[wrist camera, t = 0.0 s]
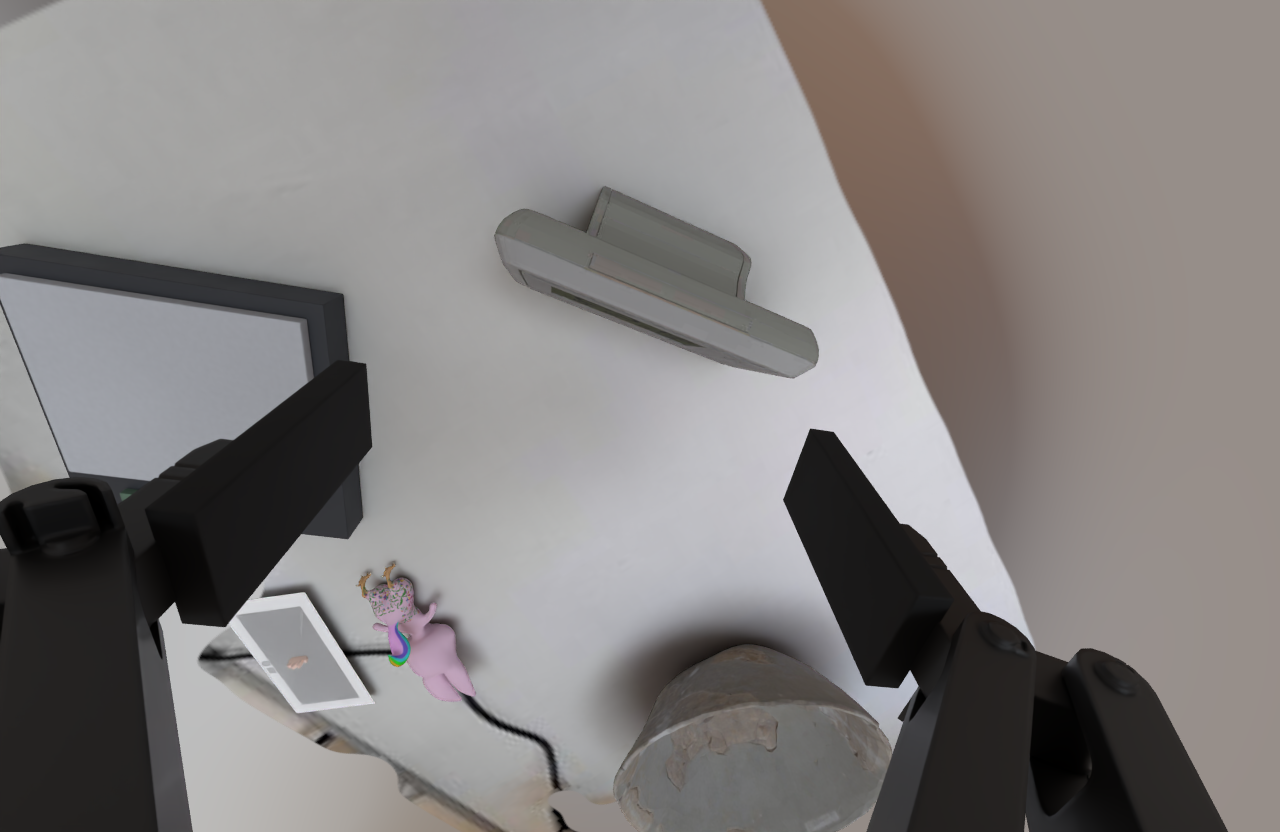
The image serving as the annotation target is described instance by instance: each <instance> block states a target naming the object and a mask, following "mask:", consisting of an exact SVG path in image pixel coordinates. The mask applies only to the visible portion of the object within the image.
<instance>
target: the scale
mask: <svg viewBox="0 0 1280 832" xmlns="http://www.w3.org/2000/svg"><path fill="white" fill-rule="evenodd" d="M0 305H1V307H2V310H3V312H4V315H5V317H6V320H7V322H8V325H9V327H10V330H11V332H12V335H13V337H14V340H15V342H16V345H17V347H18V350H19V352H20V355H21V357H22V360H23V362H24V365H25V367H26V370H27V372H28V375H29V377H30V380H31V382H32V385H33V387H34V390H35V392H36V395H37V397H38V400H39V402H40V405H41V407H42V410H43V412H44V415H45V417H46V420H47V422H48V425H49V427H50V430H51V432H52V435H53V437H54V440H55V442H56V445H57V447H58V450H59V452H60V455H61V457H62V460H63V462H64V465H65V467H66V470H67V472H68V475H69V477H70V478H72V477H86V478H96V479H99V480H102V481H105V482H107V483H108V484H109V486H110V487H111V489H112V491H113V494H114V497H115V500H116V502H117V505H118V504H119V503H121V502H122V501H123V500H125V499H126V498H127V497H129V496H130V495H132V494H133V493H134V492H136V491H137V490H139V489H140V488H141V487H143V486H144V485H145V484H147V483H148V482H150V481H151V480H152V479H154V478H158V477H159V474H161V473H162V472H163V471H165V470H166V469H168V468H169V467H170V466H175V463H176V462H177V461H179V460H180V459H181V458H183V457H184V456H185V455H187V454H188V453H190V452H191V451H192V450H194V449H196V448H198V447H201V446H203V445H206V444H208V443H211V442H213V441H216V440H218V439H228V440H234V439H236V438H237V437H238V436H239V435H241V434H242V433H243V432H245V431H246V430H247V429H248V428H250V427H251V426H252V425H254V424H255V423H256V422H258V421H259V420H260V419H261V418H263V417H264V416H265V415H267V414H268V413H269V412H270V411H272V410H273V409H274V408H276V407H277V406H278V405H280V404H281V403H282V402H283V401H285V400H286V399H287V398H289V397H290V396H291V395H292V394H294V393H295V392H296V391H298V390H299V389H300V388H301V387H303V386H304V385H305V384H307V383H308V382H309V381H311V380H312V379H313V378H314V377H316V376H317V375H318V374H320V373H321V372H322V371H323V370H325V369H326V368H327V367H329V366H330V365H331V364H333V363H334V362H335V361H336V360H344V361H349V357H348V346H347V334H346V323H345V312H344V300H343V294H339V293H332V292H326V291H320V290H313V289H307V288H301V287H295V286H288V285H282V284H276V283H269V282H263V281H257V280H251V279H244V278H238V277H232V276H226V275H219V274H213V273H207V272H200V271H194V270H188V269H182V268H175V267H169V266H163V265H156V264H150V263H144V262H138V261H131V260H125V259H119V258H112V257H106V256H100V255H94V254H87V253H81V252H75V251H68V250H62V249H56V248H50V247H43V246H37V245H31V244H19V245H13V246H7V247H1V248H0ZM362 518H363V515H362V504H361V492H360V481H359V470H358V465H357V466H356V467H355V468H354V470H353V471H352V472H351V473H350V475H349V476H348V477H347V478H346V480H345V481H344V482H343V483H342V484H341V486H340V487H339V488H338V489H337V491H336V492H335V493H334V494H333V495H332V497H331V498H330V499H329V500H328V502H327V503H326V504H325V505H324V507H323V508H322V509H321V510H320V511H319V513H318V514H317V515H316V516H315V518H314V519H313V520H312V521H311V523H310V524H309V525H308V526H307V527H306V529H305V530H304V531H303V532H302V534H306V535H315V536H324V537H333V538H342V539H349V537H350V536H351V534H352V533H353V532H354V530H355V529H356V527H357V526H358V524H359V523H360V521H361V520H362Z"/></svg>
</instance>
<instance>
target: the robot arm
mask: <svg viewBox="0 0 1280 832" xmlns="http://www.w3.org/2000/svg"><path fill="white" fill-rule="evenodd" d="M371 448H372V438H371V424H370V410H369V396H368V382H367V369H366V364H364V363H358V362H351V361H344V360H336V361H335V362H334V363H333V364H331V365H330V366H329V367H327V368H326V369H325V370H323V371H322V372H321V373H320V374H318V375H317V376H316V377H314V378H313V379H312V380H311V381H309V382H308V383H307V384H305V385H304V386H303V387H301V388H300V389H299V390H298V391H296V392H295V393H294V394H292V395H291V396H290V397H289V398H287V399H286V400H285V401H283V402H282V403H281V404H280V405H278V406H277V407H276V408H274V409H273V410H272V411H270V412H269V413H268V414H267V415H265V416H264V417H263V418H261V419H260V420H259V421H258V422H256V423H255V424H254V425H252V426H251V427H250V428H248V429H247V430H246V431H245V432H243V433H242V434H241V435H239V436H238V437H237V438H236V439H234V440H228V439H218V440H216V441H213V442H211V443H208V444H206V445H203V446H201V447H198V448H196V449H194V450H192V451H191V452H190V453H188V454H187V455H185V456H184V457H183V458H181V459H180V460H179V461H177V462H176V463H175V466H170V467H169V468H168V469H166V470H165V471H163V472H162V473H161V474H159V477H158V478H154V479H152V480H151V481H150V482H148V483H147V484H145V485H144V486H143V487H141V488H140V489H139V490H137V491H136V492H134V493H133V494H132V495H130V496H129V497H127V498H126V499H125V500H123V501H122V502H121V503H119V504H118V505H117V502H116V500H115V497H114V494H113V491H112V489H111V487H110V486H109V484H108V483H107V482H105V481H102V480H99V479H96V478H86V477H72V478H64V479H55V480H51V481H47V482H43V483H40V484H36V485H32V486H30V487H27V488H25V489H22V490H20V491H18V492H15V493H13V494H11V495H9V496H8V497H6V498H5V499H3V500H2V501H1V502H0V535H1V537H2V539H3V541H4V543H5V545H6V547H7V548H5V549H0V832H193V830H192V824H191V817H190V810H189V804H188V797H187V790H186V784H185V778H184V770H183V763H182V757H181V750H180V744H179V737H178V730H177V723H176V717H175V710H174V703H173V697H172V691H171V683H170V677H169V670H168V663H167V657H166V650H165V643H164V637H163V631H162V628H161V625H160V622H159V617H160V616H161V615H162V614H163V613H164V612H165V611H166V610H167V609H168V608H169V607H170V606H171V605H172V604H173V603H174V602H175V603H176V606H177V609H178V612H179V615H180V618H181V621H182V623H185V624H195V625H206V626H217V627H226V626H227V624H228V623H229V622H230V621H231V620H232V618H233V617H234V616H235V615H236V613H237V612H238V611H239V610H240V609H241V607H242V606H243V605H244V604H245V602H246V601H247V600H248V598H249V597H250V596H251V595H252V594H253V592H254V591H255V590H256V589H257V588H258V586H259V585H260V584H261V583H262V582H263V580H264V579H265V578H266V577H267V575H268V574H269V573H270V572H271V570H272V569H273V568H274V567H275V566H276V564H277V563H278V562H279V561H280V559H281V558H282V557H283V556H284V554H285V553H286V552H287V551H288V550H289V548H290V547H291V546H292V545H293V543H294V542H295V541H296V540H297V538H298V537H299V536H300V535H301V534H302V532H303V531H304V530H305V529H306V527H307V526H308V525H309V524H310V523H311V521H312V520H313V519H314V518H315V516H316V515H317V514H318V513H319V511H320V510H321V509H322V508H323V507H324V505H325V504H326V503H327V502H328V500H329V499H330V498H331V497H332V495H333V494H334V493H335V492H336V491H337V489H338V488H339V487H340V486H341V484H342V483H343V482H344V481H345V480H346V478H347V477H348V476H349V475H350V473H351V472H352V471H353V470H354V468H355V467H356V466H357V465H358V464H359V462H360V461H361V460H362V459H363V457H364V456H365V455H366V454H367V452H368V451H369V450H370V449H371ZM783 501H784V503H785V505H786V507H787V510H788V512H789V514H790V516H791V519H792V521H793V523H794V525H795V528H796V530H797V532H798V534H799V537H800V539H801V541H802V543H803V546H804V548H805V550H806V552H807V555H808V557H809V559H810V561H811V564H812V566H813V568H814V570H815V573H816V575H817V577H818V579H819V582H820V584H821V586H822V588H823V591H824V593H825V595H826V597H827V600H828V602H829V604H830V606H831V609H832V611H833V613H834V615H835V618H836V620H837V622H838V624H839V627H840V629H841V631H842V633H843V636H844V638H845V640H846V642H847V645H848V647H849V649H850V651H851V653H852V656H853V658H854V660H855V662H856V665H857V667H858V669H859V671H860V674H861V676H862V678H863V680H864V683H865V685H867V686H878V687H889V688H899V686H900V685H901V683H902V682H903V680H904V678H905V677H906V675H907V674H908V672H909V671H911V672H912V674H913V676H914V678H915V680H916V682H917V684H918V685H919V687H918V688H917V690H916V691H915V693H914V694H913V696H912V697H911V699H910V700H909V702H908V703H907V705H906V706H905V708H904V709H903V711H902V712H901V714H900V715H899V717H898V719H899V720H901V721H902V722H903V721H904V722H903V725H902V728H901V731H900V734H899V737H898V740H897V743H896V745H895V748H894V751H893V754H892V757H891V760H890V763H889V766H888V769H887V772H886V775H885V778H884V781H883V784H882V787H881V790H880V793H879V796H878V799H877V802H876V805H875V808H874V811H873V814H872V817H871V820H870V823H869V826H868V829H867V832H1024V825H1025V813H1026V818H1027V823H1028V828H1029V832H1228V831H1227V829H1226V827H1225V825H1224V823H1223V821H1222V819H1221V817H1220V815H1219V813H1218V811H1217V809H1216V808H1215V806H1214V804H1213V802H1212V800H1211V798H1210V796H1209V794H1208V792H1207V790H1206V788H1205V786H1204V785H1203V783H1202V781H1201V779H1200V777H1199V775H1198V773H1197V771H1196V769H1195V767H1194V765H1193V763H1192V761H1191V760H1190V758H1189V756H1188V754H1187V752H1186V750H1185V748H1184V746H1183V744H1182V742H1181V740H1180V738H1179V736H1178V735H1177V733H1176V731H1175V729H1174V727H1173V725H1172V723H1171V721H1170V719H1169V717H1168V715H1167V714H1166V711H1165V710H1164V708H1163V706H1162V704H1161V702H1160V700H1159V698H1158V696H1157V695H1156V693H1155V692H1154V690H1153V689H1152V688H1151V686H1150V685H1149V683H1148V682H1147V681H1146V680H1145V679H1144V678H1142V677H1141V676H1140V675H1139V674H1138V673H1137V672H1136V671H1135V670H1134V669H1133V668H1131V667H1130V666H1129V665H1126V663H1124V662H1123V661H1121V660H1119V659H1117V658H1114V657H1113V656H1111V655H1109V654H1107V653H1105V652H1101V651H1098V650H1094V649H1091V648H1090V649H1080V650H1079V651H1078V652H1077V653H1076V654H1075V655H1074V657H1073V658H1072V659H1071V660H1070V661H1069V662H1066V661H1063V660H1060V659H1057V658H1055V657H1052V656H1049V655H1046V654H1043V653H1040V652H1037V651H1035V648H1034V647H1033V646H1032V644H1031V643H1030V641H1029V640H1028V638H1027V637H1026V636H1024V635H1023V634H1022V633H1021V632H1020V631H1019V630H1018V629H1017V628H1016V627H1014V626H1013V625H1011V624H1010V623H1008V622H1007V621H1005V620H1003V619H1002V618H999V617H997V616H995V615H992V614H990V613H986V612H981V611H980V610H979V608H978V607H977V606H976V604H975V603H974V602H973V600H972V599H971V598H970V597H969V595H968V594H967V593H966V591H965V590H964V589H963V587H962V586H961V585H960V583H959V582H958V581H957V579H956V578H955V577H954V575H953V574H952V573H951V571H950V570H947V566H946V565H945V564H944V562H943V561H942V560H941V558H940V557H937V555H938V554H937V553H936V552H935V550H934V549H933V548H932V546H931V545H930V544H929V542H928V541H927V540H926V539H925V538H924V537H923V536H922V535H920V534H919V533H918V532H917V531H915V530H914V529H913V528H912V527H911V526H909V525H906V524H900V523H899V522H898V521H897V519H896V518H895V516H894V515H893V514H892V512H891V511H890V509H889V508H888V507H887V505H886V504H885V502H884V501H883V500H882V498H881V497H880V496H879V494H878V493H877V491H876V490H875V489H874V487H873V486H872V484H871V483H870V482H869V480H868V479H867V478H866V476H865V475H864V473H863V472H862V471H861V469H860V468H859V466H858V465H857V464H856V462H855V461H854V459H853V458H852V457H851V455H850V454H849V453H848V451H847V450H846V448H845V447H844V446H843V444H842V443H841V441H840V440H839V439H838V437H837V436H836V435H835V433H834V432H830V431H823V430H816V429H810V430H809V433H808V436H807V438H806V441H805V444H804V446H803V449H802V452H801V454H800V457H799V460H798V462H797V465H796V467H795V470H794V473H793V475H792V478H791V481H790V483H789V486H788V489H787V491H786V494H785V497H784V499H783Z"/></svg>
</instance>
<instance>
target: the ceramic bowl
mask: <svg viewBox="0 0 1280 832" xmlns="http://www.w3.org/2000/svg"><path fill="white" fill-rule="evenodd" d="M888 741H889V740H888V739H887V737H886V736H885V734H884V733H883V732H882V731H881V729H880V728H879V723H878V722H877V721H876V720H875V719H874V718H873V717H872V716H871V715H870V714H869V713H868V712H867V711H866V710H865V709H864V708H862V707H861V706H860V705H859V704H858V703H857V702H856V701H855V700H853V699H852V698H851V697H850V696H849V695H848V694H846V693H845V692H844V691H843V690H842V689H840V688H839V687H837V686H836V685H835V684H833V683H832V682H831V681H829V680H828V679H827V678H825V677H823V676H822V675H821V674H819V673H818V672H817V671H815V670H814V669H813V668H811V667H810V666H808V665H806V664H804V663H802V662H800V661H798V660H797V659H794V658H792V657H790V656H788V655H785V654H782V653H780V652H777V651H775V650H772V649H769V648H766V647H763V646H758V645H753V644H743V645H739V646H734V647H731V648H729V649H726V650H724V651H722V652H720V653H718V654H716V655H714V656H712V657H710V658H708V659H706V660H704V661H702V662H699V663H697V664H695V665H693V666H692V667H690V668H688V669H687V670H685V671H683V672H682V673H680V674H679V675H678V676H677V677H676V678H674V679H673V680H672V681H671V682H670V683H668V684H667V685H666V686H665V688H664V689H663V690H662V691H661V693H660V694H659V696H658V698H657V700H656V702H655V705H654V707H653V709H652V711H651V714H650V716H649V718H648V721H647V723H646V725H645V727H644V729H643V731H642V732H641V734H640V735H639V737H638V738H637V740H636V742H635V744H634V745H633V747H632V749H631V750H630V752H629V753H628V755H627V757H626V758H625V760H624V761H623V763H622V765H621V767H620V769H619V771H618V772H617V774H616V776H615V780H614V785H613V793H614V797H615V799H616V800H617V801H618V804H619V807H620V809H621V811H622V813H623V814H624V815H625V817H626V819H627V820H628V821H629V823H630V824H631V825H632V826H633V827H634V828H635V829H637V830H638V831H639V832H836V831H839V830H841V829H843V828H845V827H847V826H848V825H850V824H851V823H853V822H854V821H855V820H857V819H858V818H860V817H861V816H862V815H864V814H865V813H866V812H868V811H869V809H871V807H872V806H873V805H874V804H875V802H876V800H877V799H878V796H879V793H880V790H881V787H882V784H883V781H884V778H885V775H886V772H887V769H888V766H889V763H890V760H891V757H892V750H891V746H890V743H889V742H888Z"/></svg>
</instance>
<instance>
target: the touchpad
mask: <svg viewBox="0 0 1280 832" xmlns="http://www.w3.org/2000/svg"><path fill="white" fill-rule="evenodd" d="M228 624H229V625H230V626H231V628H232V629H233V630H234V632H235V633H236V634H237V636H238V637H239V638H240V639H241V641H242V642H243V643H244V645H245V646H246V647H247V649H248V650H249V651H250V653H251V654H252V655H253V657H254V658H255V659H256V660H257V662H258V663H259V664H260V666H261V667H262V668H263V670H264V671H265V672H266V674H267V675H268V676H269V678H270V679H271V680H272V681H273V683H274V684H275V685H276V687H277V688H278V689H279V691H280V692H281V693H282V695H283V696H284V697H285V699H286V700H287V701H288V702H289V704H290V705H291V706H292V708H293V709H294V710H295V712H296V713H303V712H311V711H319V710H327V709H335V708H343V707H351V706H358V705H366V704H374V703H375V702H374V700H373V699H372V697H371V696H370V694H369V692H368V691H367V689H366V688H365V686H364V685H363V683H362V681H361V680H360V678H359V677H358V675H357V674H356V672H355V670H354V669H353V667H352V666H351V664H350V663H349V661H348V659H347V658H346V656H345V655H344V653H343V651H342V650H341V648H340V647H339V645H338V644H337V642H336V640H335V639H334V637H333V636H332V634H331V633H330V631H329V629H328V628H327V626H326V625H325V623H324V622H323V620H322V618H321V617H320V615H319V614H318V612H317V611H316V609H315V607H314V606H313V604H312V603H311V601H310V600H309V598H308V596H307V595H306V593H305V592H301V593H294V594H286V595H279V596H272V597H264V598H257V599H251V600H247V601H246V602H245V604H244V605H243V606H242V607H241V609H240V610H239V611H238V612H237V613H236V615H235V616H234V617H233V618H232V620H231V621H230V622H229V623H228Z"/></svg>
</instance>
